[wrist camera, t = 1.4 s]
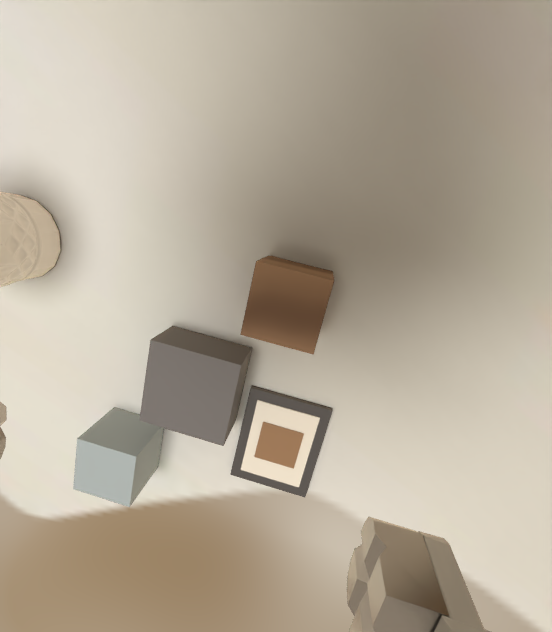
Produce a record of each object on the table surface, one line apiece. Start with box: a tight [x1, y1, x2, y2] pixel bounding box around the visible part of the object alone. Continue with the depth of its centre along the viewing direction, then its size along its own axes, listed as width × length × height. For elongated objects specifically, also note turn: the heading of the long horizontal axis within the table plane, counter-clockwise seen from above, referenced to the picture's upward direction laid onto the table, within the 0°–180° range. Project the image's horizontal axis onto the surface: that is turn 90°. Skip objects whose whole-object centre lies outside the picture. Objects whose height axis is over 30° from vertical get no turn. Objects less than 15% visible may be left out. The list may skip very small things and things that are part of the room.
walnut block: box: [241, 256, 334, 354], centre depth 24 cm, size 5×5×5 cm
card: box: [231, 386, 332, 497], centre depth 30 cm, size 9×7×1 cm
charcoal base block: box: [139, 326, 252, 446], centre depth 28 cm, size 7×7×4 cm
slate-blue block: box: [73, 407, 164, 507], centre depth 30 cm, size 5×5×5 cm
